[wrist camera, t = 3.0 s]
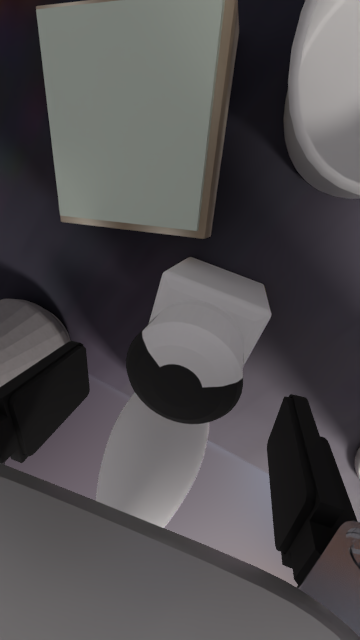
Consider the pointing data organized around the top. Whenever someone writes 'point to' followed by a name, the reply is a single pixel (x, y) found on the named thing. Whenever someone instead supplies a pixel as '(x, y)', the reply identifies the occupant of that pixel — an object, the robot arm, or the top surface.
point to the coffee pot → (26, 336)
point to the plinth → (138, 109)
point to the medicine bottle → (197, 342)
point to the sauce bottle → (150, 463)
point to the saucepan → (326, 97)
